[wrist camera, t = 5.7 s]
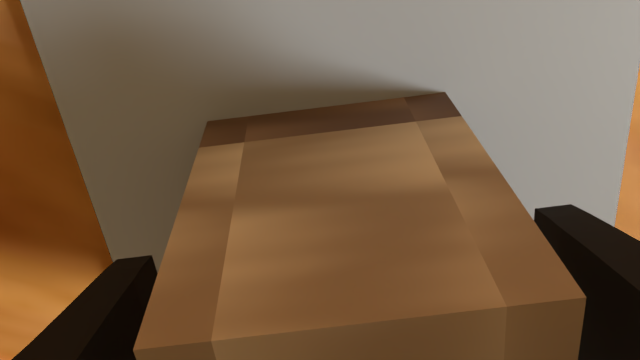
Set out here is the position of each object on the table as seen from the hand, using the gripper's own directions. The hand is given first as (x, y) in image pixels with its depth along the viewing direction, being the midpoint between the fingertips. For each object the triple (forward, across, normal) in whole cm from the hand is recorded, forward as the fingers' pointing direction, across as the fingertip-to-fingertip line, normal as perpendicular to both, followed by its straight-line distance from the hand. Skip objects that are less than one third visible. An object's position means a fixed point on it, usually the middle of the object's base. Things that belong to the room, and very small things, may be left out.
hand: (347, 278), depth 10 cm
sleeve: (+2, 0, 0) cm, 2 cm away
